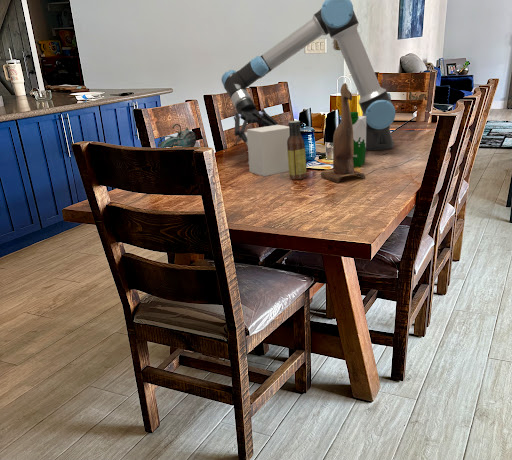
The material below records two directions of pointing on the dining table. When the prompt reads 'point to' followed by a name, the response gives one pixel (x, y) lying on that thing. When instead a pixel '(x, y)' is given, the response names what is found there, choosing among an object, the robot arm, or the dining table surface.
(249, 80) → the robot arm
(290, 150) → the sauce bottle
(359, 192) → the dining table surface
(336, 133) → the bird sculpture
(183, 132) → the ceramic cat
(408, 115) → the dining table surface
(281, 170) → the light grey upright box
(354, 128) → the milk carton
